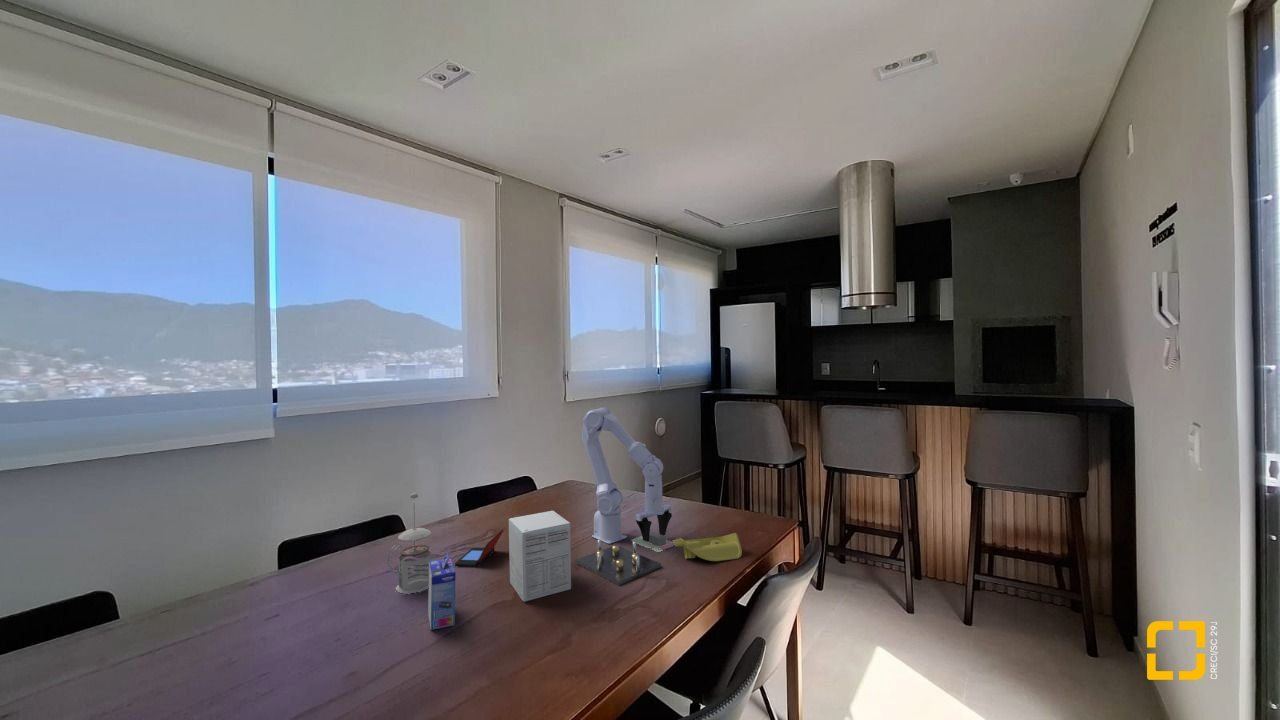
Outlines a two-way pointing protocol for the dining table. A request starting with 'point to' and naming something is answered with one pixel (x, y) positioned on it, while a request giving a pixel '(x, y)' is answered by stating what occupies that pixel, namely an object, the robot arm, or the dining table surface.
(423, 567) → the french press
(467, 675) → the dining table surface
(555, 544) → the supplement box
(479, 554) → the handheld game console
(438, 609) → the ink cartridge box
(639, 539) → the board
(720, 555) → the plastic component
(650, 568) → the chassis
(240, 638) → the dining table surface
